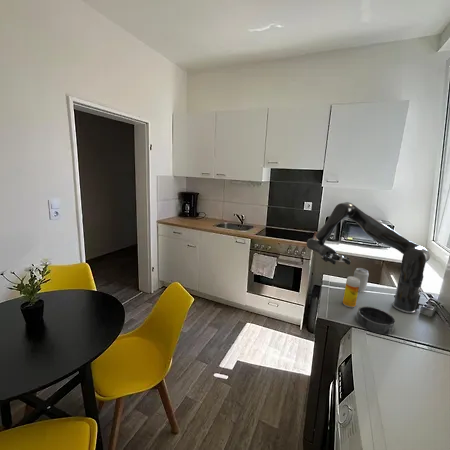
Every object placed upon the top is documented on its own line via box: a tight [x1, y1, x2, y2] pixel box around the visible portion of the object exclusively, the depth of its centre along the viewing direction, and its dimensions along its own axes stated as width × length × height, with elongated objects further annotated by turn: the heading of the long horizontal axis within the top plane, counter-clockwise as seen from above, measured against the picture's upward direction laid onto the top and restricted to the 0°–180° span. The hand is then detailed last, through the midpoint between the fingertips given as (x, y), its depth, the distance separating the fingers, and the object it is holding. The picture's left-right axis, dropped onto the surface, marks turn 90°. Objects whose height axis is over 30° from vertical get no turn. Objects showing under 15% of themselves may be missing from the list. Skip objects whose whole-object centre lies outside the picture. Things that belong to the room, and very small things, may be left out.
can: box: [353, 267, 370, 292], centre depth 146 cm, size 8×8×12 cm
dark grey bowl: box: [355, 306, 396, 335], centre depth 112 cm, size 15×15×4 cm
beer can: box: [342, 275, 360, 309], centre depth 126 cm, size 6×6×15 cm
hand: (342, 262), depth 134 cm, fingers open, 8 cm apart
